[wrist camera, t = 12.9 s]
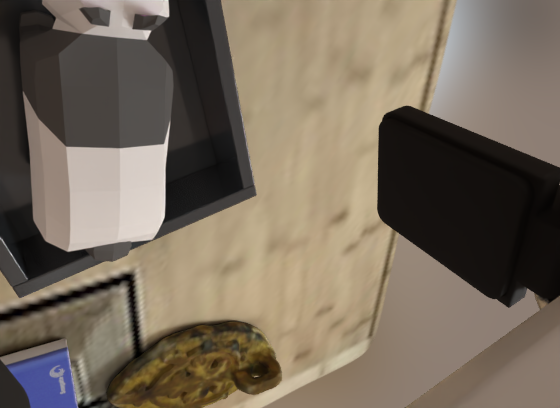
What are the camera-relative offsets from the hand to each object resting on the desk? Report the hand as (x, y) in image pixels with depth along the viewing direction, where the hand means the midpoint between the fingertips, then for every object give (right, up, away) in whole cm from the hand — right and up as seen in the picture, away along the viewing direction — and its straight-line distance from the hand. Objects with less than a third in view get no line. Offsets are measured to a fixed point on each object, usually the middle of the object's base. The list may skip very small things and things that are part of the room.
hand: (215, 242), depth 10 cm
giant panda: (-9, +7, +13) cm, 17 cm away
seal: (-6, -13, +29) cm, 32 cm away
